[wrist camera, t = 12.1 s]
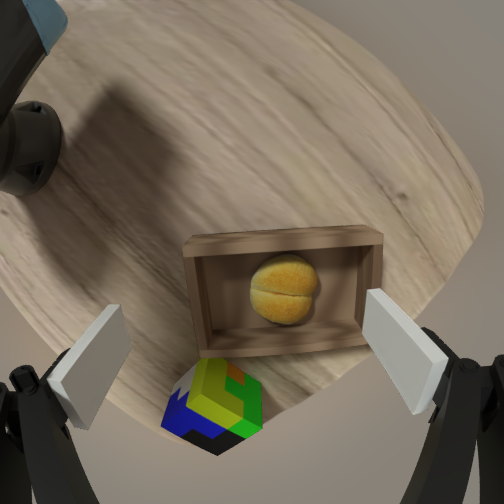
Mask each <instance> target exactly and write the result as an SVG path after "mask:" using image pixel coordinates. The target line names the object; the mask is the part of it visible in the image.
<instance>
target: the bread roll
mask: <svg viewBox="0 0 504 504" xmlns="http://www.w3.org/2000/svg"><path fill="white" fill-rule="evenodd" d="M317 285H318V276H317V274H316V272H315V270H314V268H313V267H312V266H311V265H310V264H309V263H308V262H307V261H306V260H304V259H303V258H301V257H299V256H296V255H292V254H284V255H279V256H275V257H273V258H270V259H269V260H267V261H265V262H264V263H263V264H262V265H261V266H260V267H259V268H258V269H257V271H256V272H255V273H254V275H253V277H252V280H251V288H250V300H251V304H252V307H253V309H254V310H255V311H256V312H257V313H258V314H259V315H260V316H262V317H264V318H266V319H268V320H270V321H272V322H277V323H282V324H292V323H293V322H296V321H299V320H301V319H302V318H303V317H305V316H306V315H307V313H308V312H309V310H310V308H311V304H312V295H311V293H312V292H313V291H314V290H315V289H316V287H317Z"/></svg>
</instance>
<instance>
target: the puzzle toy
mask: <svg viewBox="0 0 504 504" xmlns="http://www.w3.org/2000/svg"><path fill="white" fill-rule="evenodd" d="M161 427H163V428H165V429H166V430H168V431H170V432H171V433H173V434H175V435H177V436H179V437H180V438H182V439H184V440H186V441H188V442H190V443H192V444H194V445H196V446H198V447H200V448H202V449H204V450H206V451H208V452H210V453H212V454H214V455H217V456H218V455H220V454H222V453H223V452H225V451H227V450H229V449H230V448H232V447H234V446H235V445H237V444H238V443H240V442H242V441H244V440H245V439H247V438H248V437H250V436H252V435H253V434H254V433H256V432H258V431H259V430H261V429H262V403H261V383H260V382H258V381H257V380H255V379H254V378H252V377H250V376H249V375H247V374H246V373H244V372H243V371H241V370H240V369H238V368H237V367H235V366H234V365H232V364H231V363H229V362H228V361H226V360H225V359H223V358H201V359H200V360H199V361H198V362H197V363H196V364H195V365H194V366H193V367H192V368H191V369H190V370H189V371H188V372H187V373H185V374H184V375H183V376H182V377H181V378H180V379H179V380H178V381H177V382H176V383H175V384H174V387H173V390H172V393H171V396H170V399H169V402H168V405H167V408H166V411H165V414H164V417H163V420H162V423H161Z"/></svg>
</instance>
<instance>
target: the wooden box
mask: <svg viewBox="0 0 504 504" xmlns="http://www.w3.org/2000/svg"><path fill="white" fill-rule="evenodd" d="M182 252H183V260H184V267H185V274H186V281H187V288H188V294H189V300H190V306H191V312H192V318H193V324H194V330H195V335H196V341H197V346H198V351H199V356H200V358H230V357H252V356H268V355H282V354H293V353H303V352H313V351H322V350H330V349H337V348H345V347H351V346H358V345H364V344H368V342H367V341H366V339H365V338H364V336H363V335H362V329H363V321H364V314H365V305H366V296H367V290H369V289H377V288H380V285H381V273H382V257H383V233H381V232H379V231H377V230H375V229H372V228H370V227H368V226H366V225H349V226H330V227H311V228H294V229H278V230H262V231H247V232H233V233H219V234H206V235H193V236H192V237H191V238H190V239H189V240H188V241H187V242H186V243H185V244H184V245H183V246H182ZM284 254H292V255H296V256H299V257H301V258H303V259H304V260H306V261H307V262H308V263H309V264H310V265H311V266H312V267H313V268H314V270H315V272H316V274H317V276H318V285H317V287H316V289H315V290H314V291H313V292H312V293H311V295H312V304H311V308H310V310H309V312H308V313H307V315H306V316H305V317H303V318H302V319H301V320H299V321H296V322H293V323H292V324H282V323H277V322H272V321H270V320H268V319H266V318H264V317H262V316H260V315H259V314H258V313H257V312H256V311H255V310H254V309H253V307H252V304H251V300H250V288H251V280H252V277H253V275H254V273H255V272H256V271H257V269H258V268H259V267H260V266H261V265H262V264H263V263H264V262H265V261H267V260H269V259H270V258H273V257H275V256H279V255H284Z"/></svg>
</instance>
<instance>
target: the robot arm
mask: <svg viewBox="0 0 504 504" xmlns="http://www.w3.org/2000/svg"><path fill="white" fill-rule="evenodd" d="M67 24H68V18H67V15H66V13H65V12H64V10H63V9H62V8H61V6H60V5H59V4H58V3H57V2H56V1H55V0H0V191H3V192H6V193H9V194H12V195H19V196H20V195H26V194H31V193H34V192H36V191H37V190H39V189H40V188H41V187H42V186H43V185H44V184H45V183H46V181H47V180H48V179H49V177H50V175H51V174H52V172H53V170H54V167H55V165H56V162H57V159H58V155H59V150H60V143H61V130H60V123H59V120H58V117H57V114H56V113H55V111H54V110H53V108H52V107H51V106H49V105H48V104H45V103H42V102H38V101H26V102H22V103H18V104H14V103H15V102H16V100H17V98H18V97H19V95H20V93H21V92H22V90H23V89H24V87H25V85H26V84H27V82H28V81H29V79H30V78H31V77H32V75H33V74H34V72H35V71H36V69H37V68H38V67H39V65H40V64H41V62H42V61H43V60H44V58H45V57H46V56H48V55H49V53H50V50H51V49H52V47H53V46H54V44H55V43H56V42H57V40H58V39H59V38H60V37H61V35H62V34H63V33H64V31H65V30H66V28H67ZM362 335H363V336H364V338H365V339H366V341H367V342H368V344H369V345H370V347H371V348H372V350H373V352H374V353H375V355H376V356H377V358H378V359H379V361H380V362H381V364H382V366H383V367H384V369H385V370H386V372H387V373H388V375H389V377H390V378H391V380H392V381H393V383H394V385H395V386H396V388H397V389H398V391H399V393H400V394H401V396H402V398H403V399H404V401H405V402H406V404H407V406H408V408H409V409H410V411H411V412H412V414H413V415H414V414H417V413H420V412H423V411H426V410H428V408H429V406H430V404H431V402H432V400H433V401H434V402H435V404H436V405H437V406H436V408H435V410H434V412H433V414H432V416H431V418H430V420H429V422H428V423H430V427H429V430H428V433H427V437H426V440H425V443H424V446H423V449H422V452H421V455H420V457H419V460H418V463H417V465H416V468H415V471H414V473H413V475H412V478H411V481H410V483H409V485H408V487H407V490H406V492H405V494H404V496H403V498H402V500H401V502H400V504H462V502H463V499H464V496H465V492H466V488H467V485H468V480H469V476H470V472H471V467H472V462H473V457H474V451H475V445H476V439H477V446H478V458H479V475H480V504H504V355H498V356H497V357H495V360H494V362H493V364H492V366H483V367H481V366H480V365H479V364H478V363H477V362H476V361H474V360H471V359H469V358H462V359H460V358H459V357H458V356H457V355H456V354H455V353H454V352H453V351H452V350H451V349H450V348H449V347H448V346H447V345H446V344H444V342H443V341H442V340H441V339H439V337H438V336H437V335H436V334H435V333H434V332H433V331H431V330H429V329H427V328H425V327H422V328H419V327H418V326H417V324H415V322H414V321H413V320H412V319H411V318H410V317H409V316H408V315H407V314H406V313H405V312H404V311H403V310H402V309H401V308H400V307H399V306H398V305H397V304H395V303H394V302H393V301H392V300H391V299H390V298H389V297H388V296H387V295H386V294H385V293H384V292H383V291H382V290H381V289H380V288H377V289H369V290H367V296H366V305H365V314H364V321H363V329H362ZM131 348H132V344H131V341H130V338H129V334H128V331H127V327H126V323H125V320H124V316H123V312H122V308H121V305H108V306H107V307H106V308H105V309H104V310H103V312H102V313H101V314H100V315H99V316H98V317H97V318H96V319H95V321H94V322H93V323H92V324H91V325H90V326H89V327H88V329H87V330H86V331H85V332H84V333H83V334H82V336H81V337H80V338H79V339H78V340H77V342H76V343H75V344H74V345H73V346H72V348H68V349H67V350H65V351H64V352H63V353H61V354H60V356H59V357H58V358H57V360H56V361H55V362H54V363H53V364H52V366H50V368H49V369H48V370H47V371H46V373H45V374H44V375H43V376H42V378H41V379H40V380H39V378H38V376H37V374H36V372H35V370H34V368H33V367H32V366H30V365H23V366H20V367H17V368H16V369H14V370H13V371H12V372H11V374H10V376H9V379H10V381H11V383H12V385H13V386H14V388H15V390H16V391H9V390H8V388H7V386H6V385H5V383H2V382H0V504H32V489H33V492H34V496H35V499H36V502H37V504H99V502H98V500H97V498H96V496H95V494H94V492H93V490H92V487H91V485H90V483H89V481H88V479H87V476H86V474H85V472H84V469H83V467H82V465H81V462H80V460H79V457H78V455H77V452H76V449H75V447H74V444H73V441H72V438H71V435H70V432H69V429H68V427H67V426H66V424H65V423H66V421H67V419H68V418H69V419H70V421H71V423H72V424H73V426H74V427H76V428H80V429H85V430H89V428H90V426H91V423H92V422H93V420H94V418H95V416H96V414H97V411H98V410H99V408H100V406H101V404H102V402H103V400H104V398H105V396H106V394H107V392H108V390H109V389H110V387H111V385H112V383H113V381H114V379H115V377H116V376H117V374H118V372H119V370H120V368H121V366H122V365H123V363H124V361H125V359H126V357H127V356H128V354H129V352H130V350H131ZM5 426H6V427H7V429H8V432H7V433H6V429H5ZM31 485H32V488H31Z"/></svg>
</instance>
